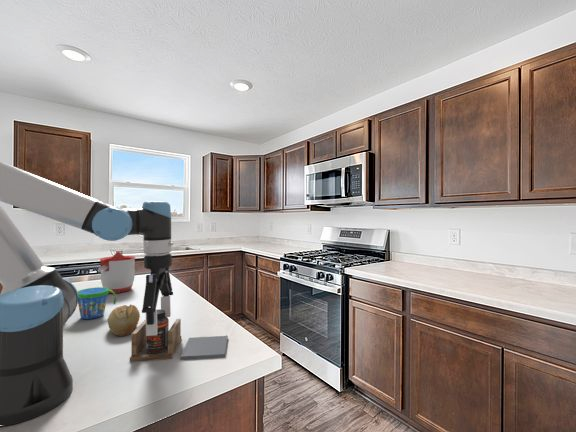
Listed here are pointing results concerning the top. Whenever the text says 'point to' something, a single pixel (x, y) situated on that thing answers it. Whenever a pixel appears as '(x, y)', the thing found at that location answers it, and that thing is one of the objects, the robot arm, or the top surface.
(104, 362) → the top surface
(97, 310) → the snack cup
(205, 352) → the coaster
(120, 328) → the bread roll
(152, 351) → the supplement bottle
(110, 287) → the citrus juicer
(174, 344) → the rack
